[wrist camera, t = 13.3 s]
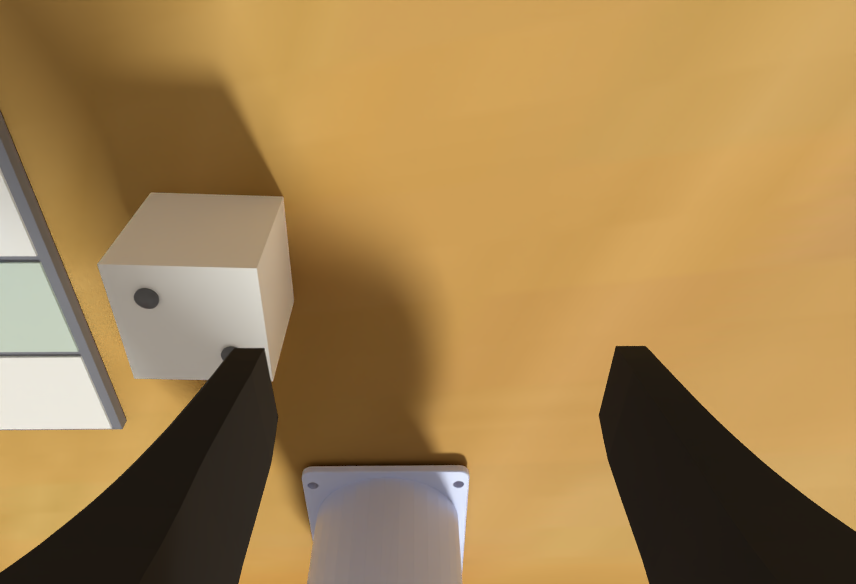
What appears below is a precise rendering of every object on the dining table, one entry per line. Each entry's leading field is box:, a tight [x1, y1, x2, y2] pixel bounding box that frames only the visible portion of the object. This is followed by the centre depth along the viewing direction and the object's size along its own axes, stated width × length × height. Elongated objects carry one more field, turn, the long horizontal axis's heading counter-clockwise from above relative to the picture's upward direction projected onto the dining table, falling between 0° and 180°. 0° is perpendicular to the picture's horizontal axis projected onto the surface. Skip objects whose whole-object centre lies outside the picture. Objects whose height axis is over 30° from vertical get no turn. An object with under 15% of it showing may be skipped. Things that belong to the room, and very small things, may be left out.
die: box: [97, 192, 294, 381], centre depth 21 cm, size 4×5×5 cm
